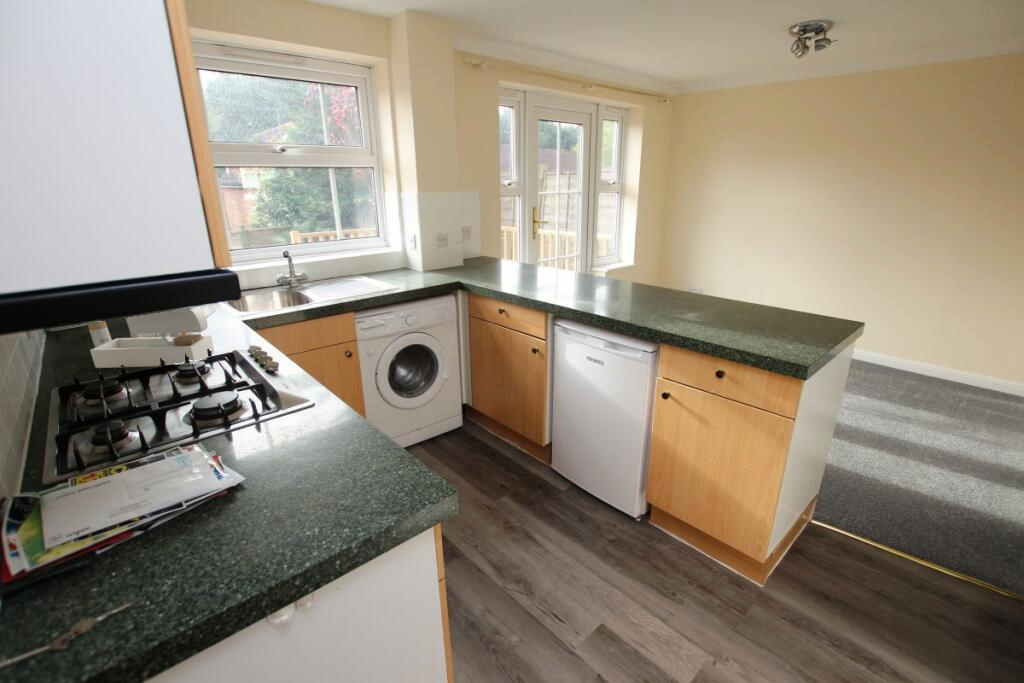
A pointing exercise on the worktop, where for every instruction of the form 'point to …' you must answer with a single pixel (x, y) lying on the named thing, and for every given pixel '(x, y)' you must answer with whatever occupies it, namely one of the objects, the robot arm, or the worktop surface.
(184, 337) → the walnut block
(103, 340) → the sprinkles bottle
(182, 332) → the robot arm
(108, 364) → the channel
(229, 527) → the worktop surface
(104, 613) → the worktop surface
